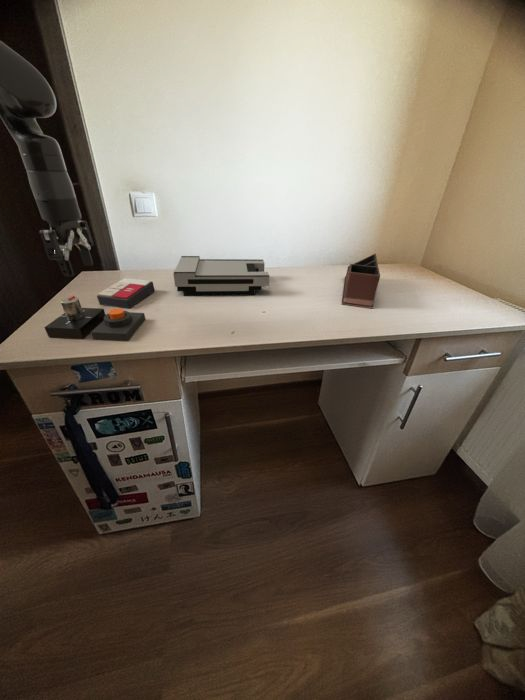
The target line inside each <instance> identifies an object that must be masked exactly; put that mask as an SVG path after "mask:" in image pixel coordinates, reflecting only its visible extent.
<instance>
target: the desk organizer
mask: <svg viewBox="0 0 525 700" xmlns="http://www.w3.org/2000/svg"><path fill="white" fill-rule="evenodd" d="M380 279H381V273H380V267H379V263H378V258H377V254H376V253H373V254H371V255H369V256H367V257H365V258H363V259H360V260H358V261H357V262H354V263H350V264H349V265H348V266H347V269H346V274H345V276H344V280H343V286H342V287H343V288H342V297H341V305H342V306H343V305H345V306H352V307H358V308H366V309H371V310H372V309H374V301H375V297H376V293H377V289H378V285H379V283H380V282H379V281H380Z"/></svg>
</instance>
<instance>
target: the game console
mask: <svg viewBox="0 0 525 700" xmlns="http://www.w3.org/2000/svg"><path fill="white" fill-rule="evenodd" d="M179 258H180V259H179V260H178V263H177V265H176V267H175V268H174V271H173V280H174V287H176V290H177V292H183V297H203V296H204V297H206V296H209V297H210V296H256V291H262V290H263V287H270V280H271V279H270V278H271V276H270V274H269V271H265V265H266V264H265V261H264V259H249V258H248V259H238V258H237V259H236V258H235V259H231V258H230V259H228V258H227V259H226V258H225V259H224V258H223V259H221V258H220V259H219V258H215V259H213V258H212V259H210V258H209V259H208V258H207V259H206V258H203V259H202V258H201V257H200V256H199V255H181V256H180V257H179Z"/></svg>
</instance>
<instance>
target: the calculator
mask: <svg viewBox="0 0 525 700" xmlns="http://www.w3.org/2000/svg"><path fill="white" fill-rule="evenodd" d="M154 292H156V290H155V286H154V281H152V280H145V279H137V278H128V277H124V278H122V279H121V280H120V281H117V282H115V283H114V284H112V285H110V286H109V287H107V288H105V289H104V290H102V291H101V292H98V294H97V295H96V298H97V301H98V304H99V305H100V306H101V305H102V306H109V307H116V308H121V309H131V308H133V307H134V306H135V305H137V304H138V303H139V302H140V301H142V300H143V299H144V298H145V297H147V296H150V295H152V294H153V293H154Z"/></svg>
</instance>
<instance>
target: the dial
mask: <svg viewBox="0 0 525 700" xmlns="http://www.w3.org/2000/svg"><path fill="white" fill-rule="evenodd" d="M60 304H61V308H62V309H63V312H64V313H65V315H66V317H67V319H68V320H72V321H73V320H79V319H81V318H83V317H84V313H83V310H82V308H83V307H82V305H81V302H80V300H79V297H77V296H75V295H71V296H67V297H64V298H62V299H61V300H60Z"/></svg>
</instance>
